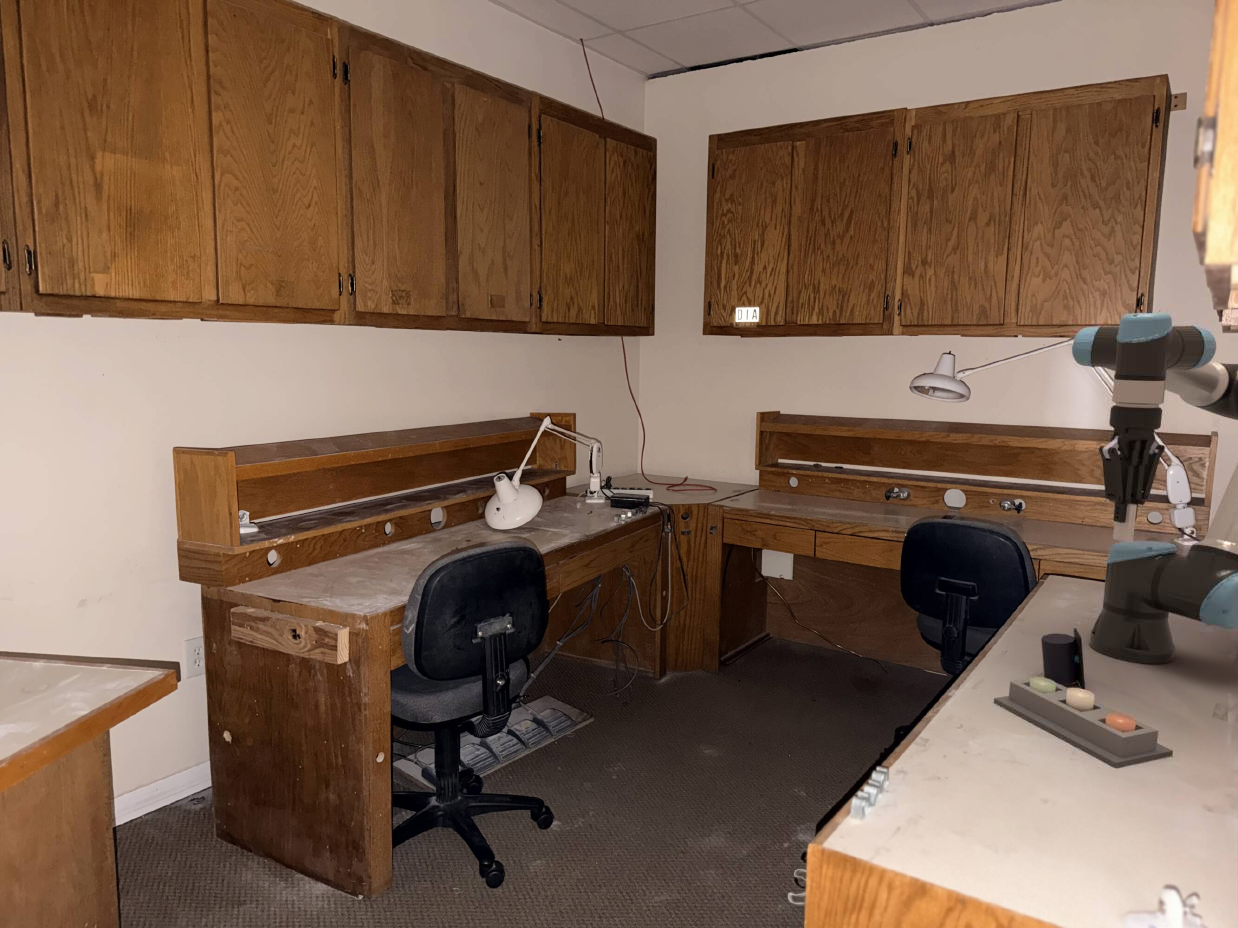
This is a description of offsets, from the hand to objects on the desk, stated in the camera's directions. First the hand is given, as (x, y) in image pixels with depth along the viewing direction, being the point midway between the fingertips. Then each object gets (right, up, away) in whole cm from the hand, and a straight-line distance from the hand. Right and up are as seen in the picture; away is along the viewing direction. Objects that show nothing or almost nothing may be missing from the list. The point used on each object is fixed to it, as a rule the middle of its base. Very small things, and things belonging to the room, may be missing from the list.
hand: (1122, 540), depth 146 cm
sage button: (-15, -28, -1) cm, 31 cm away
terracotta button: (-9, -30, -15) cm, 35 cm away
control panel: (-12, -30, -7) cm, 33 cm away
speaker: (-5, -28, +11) cm, 31 cm away
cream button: (-12, -28, -8) cm, 31 cm away
